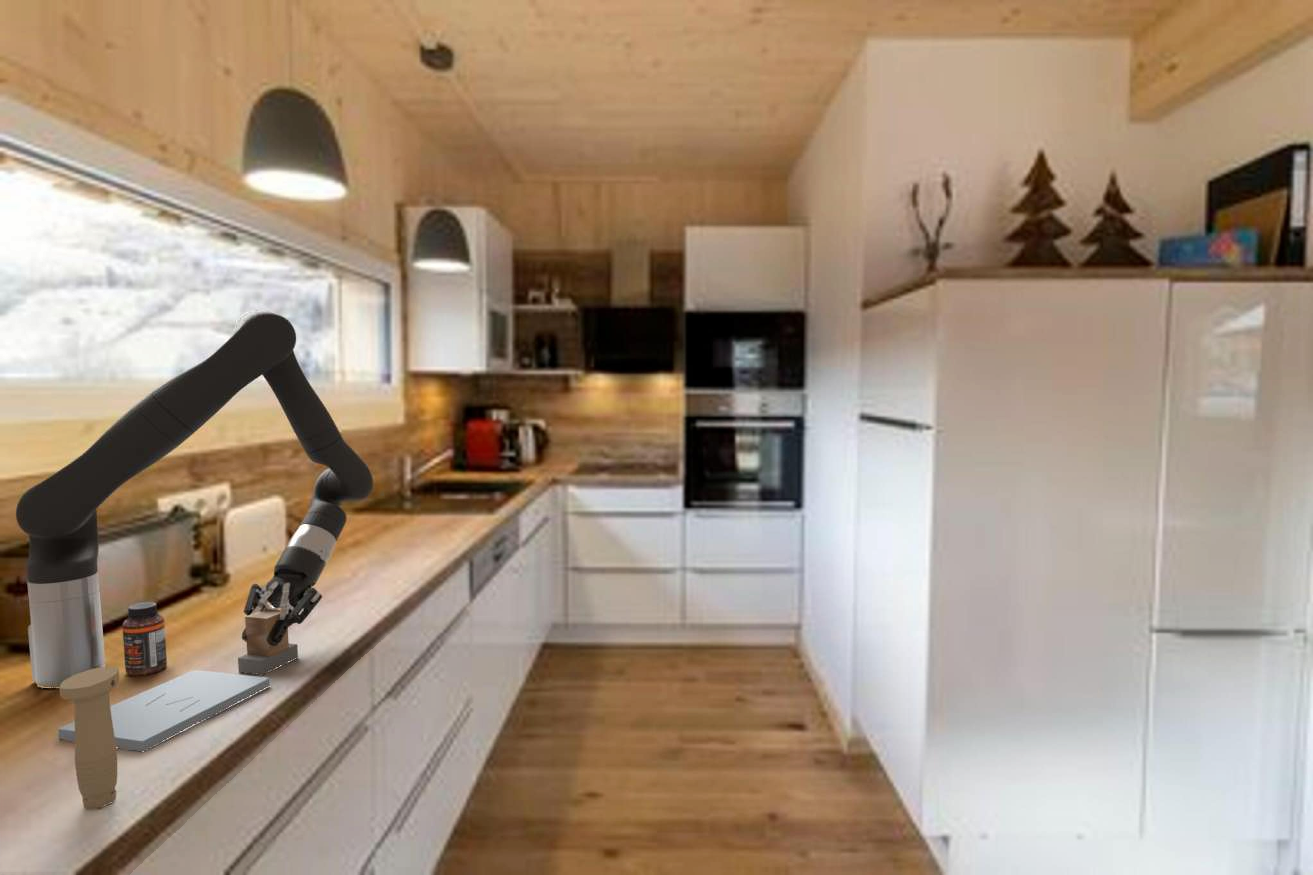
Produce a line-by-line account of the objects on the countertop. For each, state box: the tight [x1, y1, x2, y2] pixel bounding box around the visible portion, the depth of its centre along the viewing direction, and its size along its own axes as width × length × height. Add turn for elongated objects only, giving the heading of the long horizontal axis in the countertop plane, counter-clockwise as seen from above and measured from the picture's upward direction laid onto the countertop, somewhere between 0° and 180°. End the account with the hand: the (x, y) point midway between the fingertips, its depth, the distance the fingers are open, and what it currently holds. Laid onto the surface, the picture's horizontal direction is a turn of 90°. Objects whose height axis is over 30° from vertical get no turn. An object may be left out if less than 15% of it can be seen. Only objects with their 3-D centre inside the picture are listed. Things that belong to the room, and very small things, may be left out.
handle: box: [58, 666, 120, 811], centre depth 89 cm, size 5×6×15 cm
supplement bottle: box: [122, 601, 168, 677], centre depth 131 cm, size 6×6×11 cm
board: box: [57, 669, 271, 752], centre depth 115 cm, size 15×22×2 cm
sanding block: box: [237, 609, 299, 675], centre depth 133 cm, size 5×8×9 cm, turn 164°
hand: (259, 642), depth 131 cm, fingers closed on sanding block, 4 cm apart
